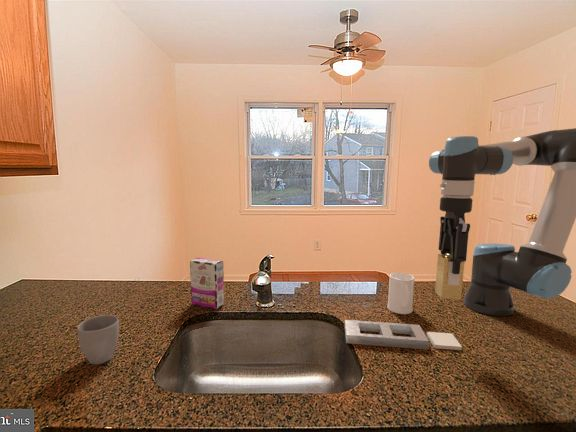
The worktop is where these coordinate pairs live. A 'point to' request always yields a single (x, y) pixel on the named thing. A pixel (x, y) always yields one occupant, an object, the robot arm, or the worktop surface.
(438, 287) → the brass block
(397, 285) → the mug
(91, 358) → the mug
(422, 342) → the rail plate
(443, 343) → the pad
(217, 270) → the candy bar box
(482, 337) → the worktop surface
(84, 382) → the worktop surface
